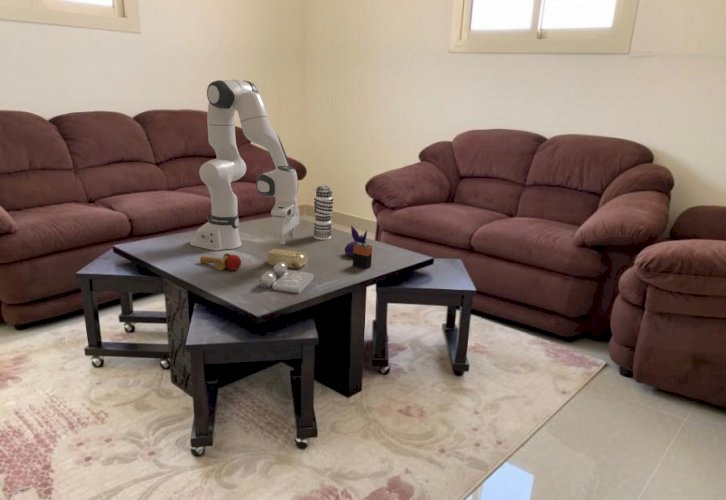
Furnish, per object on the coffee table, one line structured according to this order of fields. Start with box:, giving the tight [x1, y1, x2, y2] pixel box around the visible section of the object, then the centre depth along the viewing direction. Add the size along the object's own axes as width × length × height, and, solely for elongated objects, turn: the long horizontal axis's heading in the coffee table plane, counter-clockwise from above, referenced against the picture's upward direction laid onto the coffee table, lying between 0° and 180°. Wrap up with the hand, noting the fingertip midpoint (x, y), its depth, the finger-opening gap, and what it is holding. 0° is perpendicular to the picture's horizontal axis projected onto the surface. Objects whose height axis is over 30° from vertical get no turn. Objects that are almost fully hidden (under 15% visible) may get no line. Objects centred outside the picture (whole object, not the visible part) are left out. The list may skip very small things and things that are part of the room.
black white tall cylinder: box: [313, 185, 334, 241], centre depth 251 cm, size 9×9×25 cm
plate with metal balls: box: [258, 262, 315, 294], centre depth 195 cm, size 16×16×5 cm
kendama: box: [199, 252, 242, 271], centre depth 207 cm, size 8×6×18 cm
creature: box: [344, 225, 368, 257], centre depth 232 cm, size 9×18×12 cm, turn 154°
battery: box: [352, 242, 373, 270], centre depth 217 cm, size 4×7×10 cm, turn 57°
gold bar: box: [267, 248, 308, 269], centre depth 214 cm, size 6×15×5 cm, turn 76°
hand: (287, 240), depth 212 cm, fingers open, 8 cm apart
